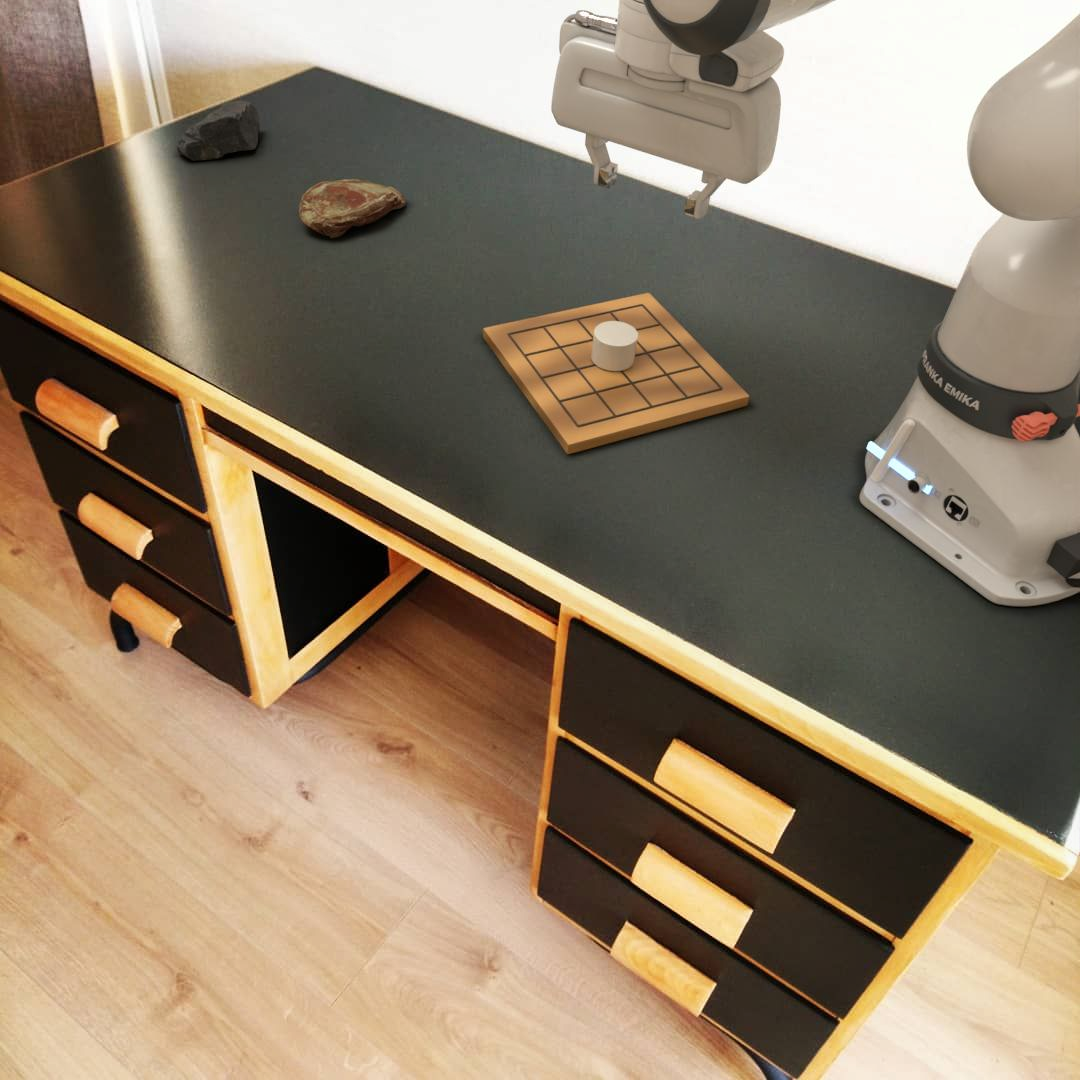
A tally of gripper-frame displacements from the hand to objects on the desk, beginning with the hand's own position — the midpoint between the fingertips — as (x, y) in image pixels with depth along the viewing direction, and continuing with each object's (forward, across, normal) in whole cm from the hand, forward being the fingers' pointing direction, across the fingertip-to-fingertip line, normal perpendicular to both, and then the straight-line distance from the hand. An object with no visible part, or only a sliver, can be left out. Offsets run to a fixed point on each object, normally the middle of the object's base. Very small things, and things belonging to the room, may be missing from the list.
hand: (648, 199), depth 85 cm
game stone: (+16, 0, -2) cm, 16 cm away
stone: (+17, -42, +5) cm, 46 cm away
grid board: (+17, 0, -2) cm, 18 cm away
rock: (+16, -67, +8) cm, 70 cm away
